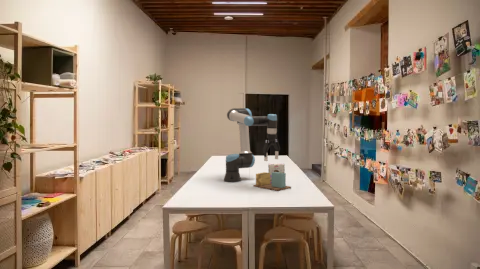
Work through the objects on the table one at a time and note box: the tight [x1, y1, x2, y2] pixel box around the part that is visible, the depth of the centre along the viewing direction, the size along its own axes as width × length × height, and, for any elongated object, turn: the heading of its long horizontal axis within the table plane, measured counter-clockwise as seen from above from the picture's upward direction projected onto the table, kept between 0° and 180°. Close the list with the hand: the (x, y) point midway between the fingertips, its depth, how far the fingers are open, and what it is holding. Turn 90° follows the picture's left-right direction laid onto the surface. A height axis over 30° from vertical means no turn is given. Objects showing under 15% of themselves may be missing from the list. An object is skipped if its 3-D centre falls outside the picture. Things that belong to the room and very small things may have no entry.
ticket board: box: [253, 172, 292, 192], centre depth 290 cm, size 26×16×10 cm, turn 45°
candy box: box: [268, 163, 286, 183], centre depth 309 cm, size 14×6×16 cm, turn 84°
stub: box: [272, 172, 287, 188], centre depth 285 cm, size 10×5×11 cm, turn 45°
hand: (271, 160), depth 288 cm, fingers open, 13 cm apart
